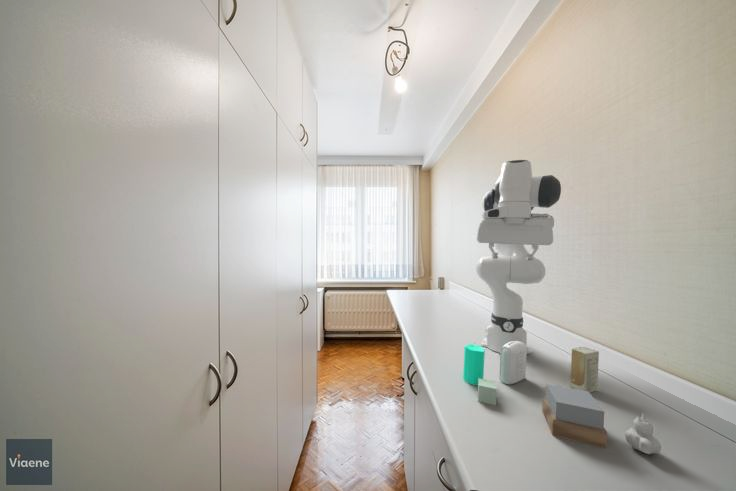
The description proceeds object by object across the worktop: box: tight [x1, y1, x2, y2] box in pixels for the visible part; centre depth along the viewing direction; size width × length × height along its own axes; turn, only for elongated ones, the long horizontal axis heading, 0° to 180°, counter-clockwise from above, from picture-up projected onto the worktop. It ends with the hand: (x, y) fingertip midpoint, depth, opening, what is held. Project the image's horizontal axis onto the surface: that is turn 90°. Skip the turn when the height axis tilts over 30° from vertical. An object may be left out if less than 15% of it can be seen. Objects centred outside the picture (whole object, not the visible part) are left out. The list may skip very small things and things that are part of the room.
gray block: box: [545, 383, 605, 429], centre depth 67 cm, size 9×9×4 cm
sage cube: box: [477, 378, 498, 406], centre depth 78 cm, size 4×4×4 cm
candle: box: [462, 342, 485, 386], centre depth 88 cm, size 6×6×12 cm
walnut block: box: [541, 397, 608, 449], centre depth 67 cm, size 10×10×4 cm
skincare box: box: [569, 346, 600, 393], centre depth 86 cm, size 6×4×12 cm
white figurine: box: [624, 412, 662, 455], centre depth 60 cm, size 5×7×8 cm
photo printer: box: [498, 341, 528, 385], centre depth 90 cm, size 10×4×12 cm, turn 124°
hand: (512, 259), depth 83 cm, fingers open, 8 cm apart
